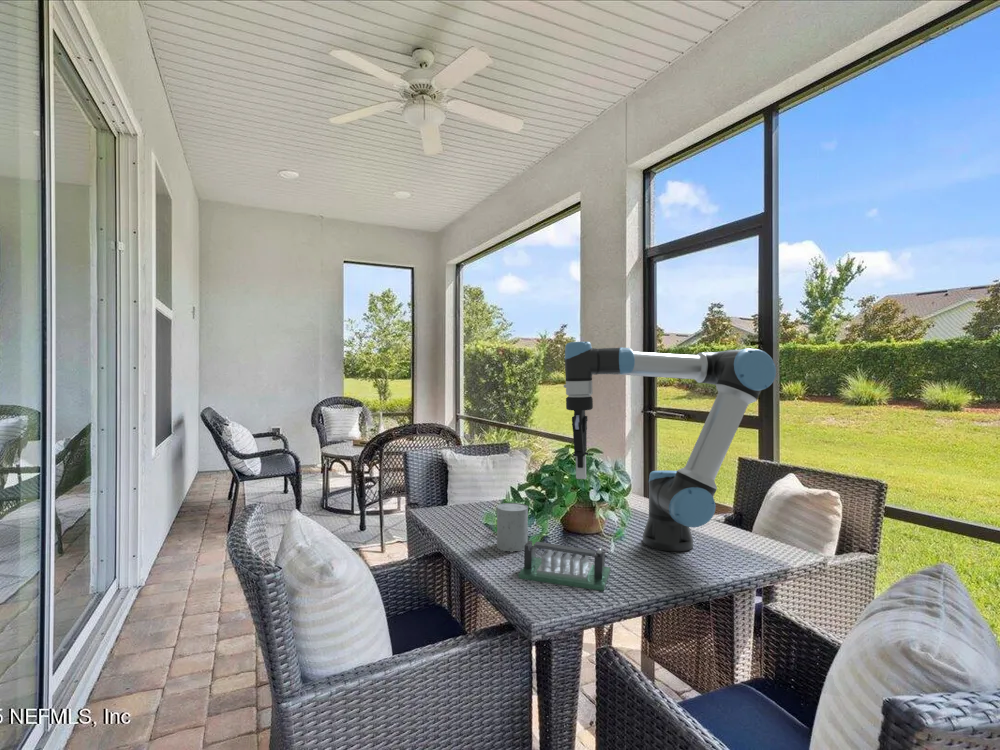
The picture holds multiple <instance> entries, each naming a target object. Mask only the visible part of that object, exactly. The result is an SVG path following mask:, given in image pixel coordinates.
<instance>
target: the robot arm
mask: <svg viewBox="0 0 1000 750" xmlns="http://www.w3.org/2000/svg"><path fill="white" fill-rule="evenodd" d="M564 371H565V372H564V375H565V384H563V388H564V389H565V394H566V398H565V406H566V407H565V408H566V410H567V411H573V415H572V417H571V426H572V435H573V449H574V450H573V452H574V453H572V456H573V457H575V478H576V479H577V480H586V479H587V456H588V455H589V452H587V451H588V450H587V449H588V447H587V442H588V440H587V439H588V437H587V432H588V431H587V429H588V423H587V422H588V415H586V411H591V410H592V409H593V408H594V405H593V404H594V403H593V402H594V401H593V397H592V396H591V395H593V375H595V376H596V375H619V376H620V375H621V376H634V377H635V376H637V377H650V378H651V377H653V378H654V377H655V378H670V379H687V380H694V381H696V383H698V384H699V383H700V384H709V385H713V386H714V385H715V387H716V390H717V392H718V393H717V395H716V397H715V399H714V401H713V404H712V406H711V409H710V411H709V413H708V415H707V417H706V420H705V422H704V423H703V426H702V429H701V431H700V433H699V435H698V438H697V440H696V442H695V444H694V447H693V448H692V451H691V453H690V456H689V457H688V458H687V459H688V460H687V462H686V465H684V467H681V468H680V469H677V470H662V469H661V470H653V471H651V472H650V473H649V476H648V477H649V478H648V519H647V521H646V524H645V528H644V530H643V532H642V543H643V544H645V546H647V547H650V548H651V549H654V550H655V549H656V550H659V551H664V552H686V551H689V550H692V549H693V548H694V538H693V535H692V531H691V528H699V527H702V526H705V525H706V524H708V523H709V522H710V521H711V520H712V518H713V517H714V515H715V513H716V506H717V505H716V502H715V499H714V496H715V494H716V492H717V489H718V486H717V484H716V482H715V480H716V477H717V475H718V474H719V471H720V469H721V466H722V464H723V462H724V460H725V457H726V456H727V452H728V450H729V449H730V446H731V444H732V442H733V439H734V437H735V435H736V433H737V431H738V428H739V426H740V424H741V422H742V420H743V417H744V415H745V413H746V410H747V408H748V406H749V405H750V404H753V403H755V402H757V400H758V399H759V396H760V394H761V392H762V391H763V390H766V389H768V388H769V387H770V386H771V385H772V384H773V383H774V381H775V380H776V379H775V378H776V376H777V368H776V365H775V362H774V360H773V358H772V357H771V356H770V355H769V354H768V353H767V352H766V351H765V350H761V349H758V348H757V349H756V348H750V347H748V348H747V347H746V348H743V349H728V350H724V351H723V350H722V351H715V352H714V351H713V352H704V351H703V352H698V353H697V354H682V353H681V354H680V353H664V352H650V351H649V352H648V351H633V349H632V348H630V347H604V348H602V347H601V348H593V346H592V343H591V342H590V341H571V342H567V343H566V344H565V348H564Z"/></svg>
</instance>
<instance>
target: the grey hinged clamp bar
mask: <svg viewBox="0 0 1000 750" xmlns="http://www.w3.org/2000/svg"><path fill="white" fill-rule="evenodd" d="M533 546H534V547H535V548H537V549H543V550H546V549H548V550H553V552H555V551H560V552H561V553H564V552H567V553H570V554H572V555H573V554H579V556H580V555H581V556H582V555H585V556H589V557H593V558H595V554H596V552H597V555H599V556H600V555H601V553H602V551H604V548H603V547H602V546H599V547H597V548H598V549H597V550H594V549H593V550H592V549H588V548H587V549H588V550H587V549H586V548H582V547H581V548H580V547H575V546H567V545H562V544H554V543H548V542H541V541H535V543H534V544H533Z"/></svg>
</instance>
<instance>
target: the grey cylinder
mask: <svg viewBox="0 0 1000 750" xmlns="http://www.w3.org/2000/svg"><path fill="white" fill-rule="evenodd" d="M496 509H497V510H496V512H497V513H496V515H497V517H496V522H497V523H496V524H497V525H496V548H497V549H498V550H499V549H500V550H499V551H502V550H503V551H502V552H505V551H510V552H509V553H512V552H511V551H520V550H524V545H525V544H526V543H527V542H528V541H529V540H528V535H529V534H528V533H529V532H528V530H529V528H528V527H529V526H528V525H529V524H528V521H529V519H528V518H529V517H528V516H529V506H528V505H526V504H524V503H519V502H505V503H500V504H498V505H497V506H496ZM520 552H521V551H520Z"/></svg>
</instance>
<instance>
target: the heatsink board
mask: <svg viewBox="0 0 1000 750" xmlns="http://www.w3.org/2000/svg"><path fill="white" fill-rule="evenodd" d="M536 550H537V549H536V548H535V547H534V545H533V541H531V540H528V541H527V543H526V544H525V545H524V551H523V552H524V553H523V554H524V556H523V557H524V558H523V559H524V560H523V561H524V563H523V568H522V569H521V570H520V571H519V572H518V579H522V580H527V581H532V582H533V581H534V582H540V583H548V584H554V585H555V584H556V585H561V586H567V587H575V588H582V589H587V590H588V589H589V590H595V591H601V592H604V591H605V589H606V586H607V582H608V580H609V576H610V574H611V567H609V566H606V564H605V561H606V559H605V558H606V555H605V554H606V552H605V551H604V550H603V551H602V553H601V555H600V556H599V555H597V551H595V555H594V559H593V560H594V561H593V562H594V563H593V562H590V561H589V560H590V556H585V555H581V558H580V555H579V554H573V553H572V555H571V553H567V552H560V551H554V550H548V549H544V552H543V553H542V554H541V557H536ZM587 550H589V549H588V548H587Z"/></svg>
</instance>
